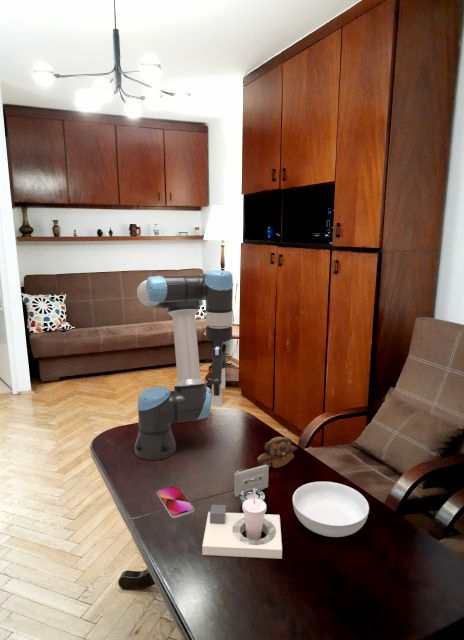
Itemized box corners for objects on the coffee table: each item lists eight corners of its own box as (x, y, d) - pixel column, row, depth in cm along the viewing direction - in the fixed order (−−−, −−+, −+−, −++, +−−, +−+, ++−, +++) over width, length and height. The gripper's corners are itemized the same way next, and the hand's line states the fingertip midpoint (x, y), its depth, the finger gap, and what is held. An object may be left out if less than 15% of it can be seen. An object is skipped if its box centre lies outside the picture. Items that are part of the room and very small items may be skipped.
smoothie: (263, 529, 123) (265, 482, 120) (267, 545, 117) (269, 496, 114) (240, 530, 122) (241, 483, 120) (243, 546, 116) (244, 497, 113)
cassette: (236, 498, 137) (236, 475, 136) (233, 495, 139) (233, 472, 137) (269, 488, 143) (269, 466, 141) (266, 485, 144) (266, 463, 143)
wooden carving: (264, 476, 149) (265, 449, 147) (255, 470, 153) (256, 443, 151) (299, 461, 159) (300, 435, 157) (289, 456, 163) (290, 430, 161)
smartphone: (177, 484, 143) (196, 509, 130) (177, 487, 144) (196, 512, 130) (155, 490, 140) (172, 516, 127) (155, 493, 140) (172, 520, 127)
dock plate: (208, 519, 127) (208, 502, 126) (279, 522, 126) (279, 505, 125) (202, 554, 113) (202, 535, 112) (281, 558, 112) (282, 539, 111)
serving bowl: (369, 509, 132) (370, 488, 131) (365, 557, 113) (367, 533, 112) (299, 495, 139) (300, 475, 138) (284, 538, 120) (285, 515, 118)
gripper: (210, 317, 139) (210, 381, 143) (200, 335, 115) (200, 413, 119) (234, 317, 139) (233, 382, 143) (229, 336, 114) (229, 414, 119)
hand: (218, 396), depth 131 cm, fingers open, 13 cm apart
